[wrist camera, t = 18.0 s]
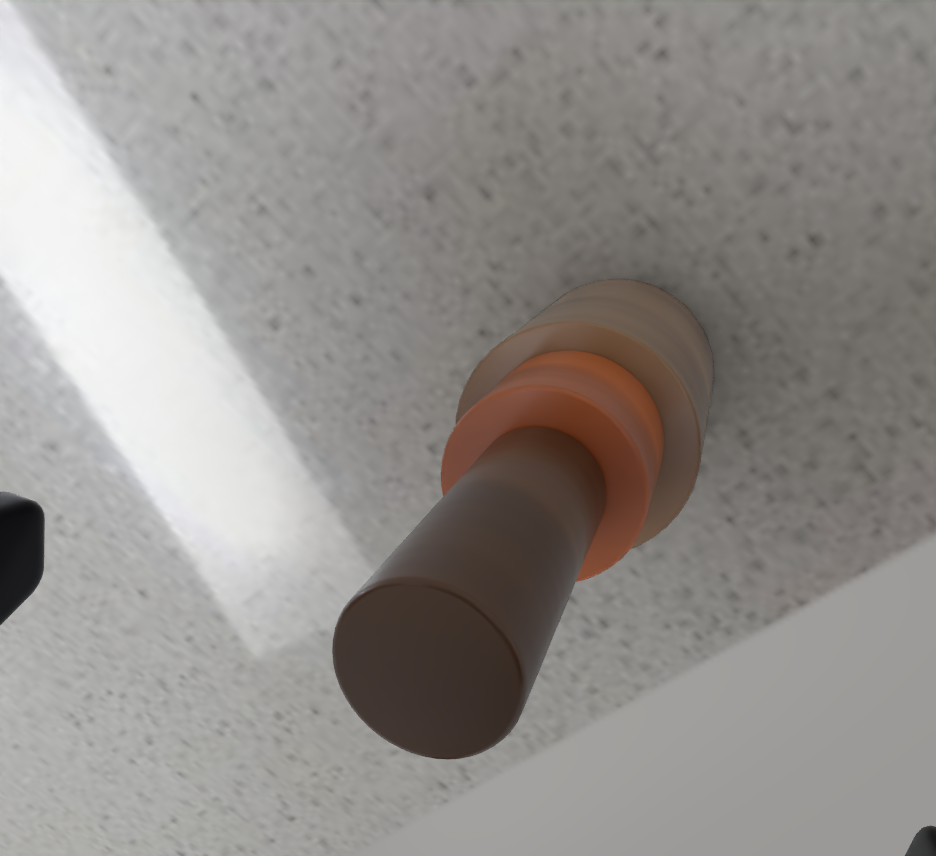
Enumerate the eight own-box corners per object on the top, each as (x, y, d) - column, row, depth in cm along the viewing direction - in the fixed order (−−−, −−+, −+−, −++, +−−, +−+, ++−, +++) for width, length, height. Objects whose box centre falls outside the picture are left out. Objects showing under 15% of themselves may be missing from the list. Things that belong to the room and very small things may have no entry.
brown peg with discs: (656, 534, 15) (577, 848, 8) (482, 509, 16) (283, 772, 9) (673, 358, 14) (600, 548, 7) (487, 342, 15) (268, 496, 8)
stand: (703, 472, 20) (687, 576, 15) (521, 449, 21) (452, 539, 16) (724, 285, 19) (715, 332, 14) (529, 272, 20) (456, 311, 15)
